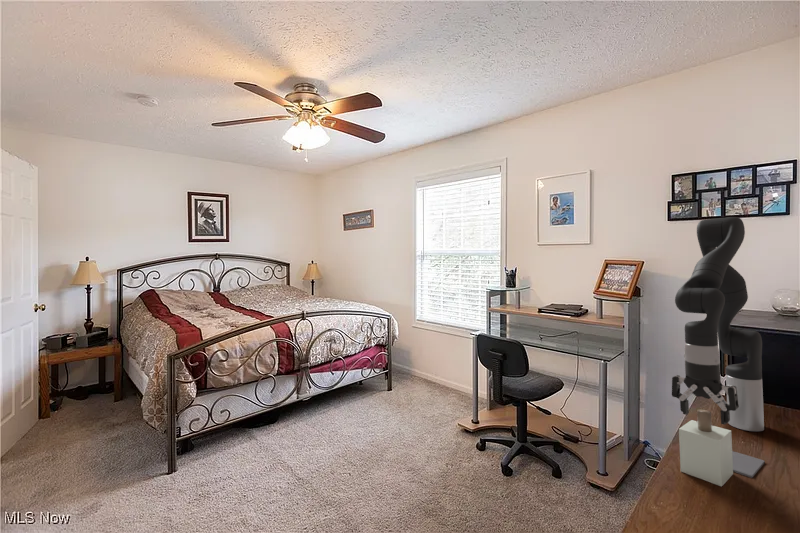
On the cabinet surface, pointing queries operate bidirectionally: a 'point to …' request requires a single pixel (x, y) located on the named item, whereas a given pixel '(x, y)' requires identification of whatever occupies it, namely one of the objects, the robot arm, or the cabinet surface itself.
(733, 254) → the robot arm
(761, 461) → the mat
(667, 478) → the cabinet surface
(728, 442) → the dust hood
